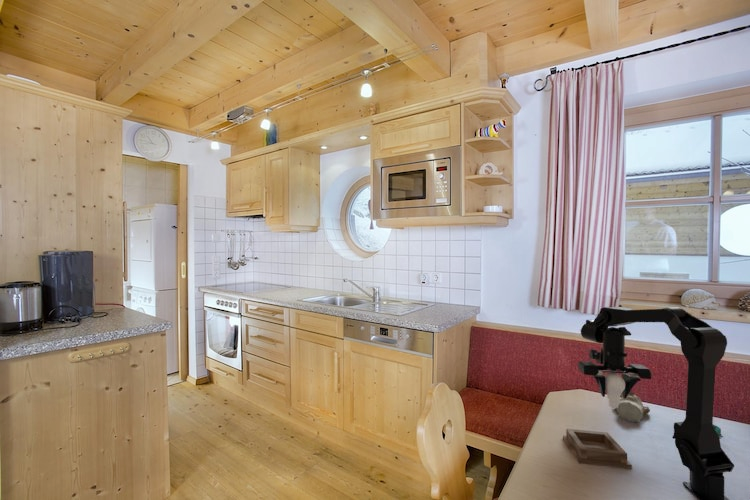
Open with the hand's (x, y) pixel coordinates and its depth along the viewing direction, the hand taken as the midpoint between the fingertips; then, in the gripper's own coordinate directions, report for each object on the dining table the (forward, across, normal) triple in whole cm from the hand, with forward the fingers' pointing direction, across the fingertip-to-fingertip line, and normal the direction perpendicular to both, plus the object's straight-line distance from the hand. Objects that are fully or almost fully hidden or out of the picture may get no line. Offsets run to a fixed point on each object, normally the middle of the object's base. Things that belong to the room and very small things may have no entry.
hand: (613, 397), depth 110 cm
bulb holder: (+13, +9, +10) cm, 19 cm away
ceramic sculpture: (+13, -13, -18) cm, 26 cm away
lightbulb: (+4, 0, 0) cm, 4 cm away
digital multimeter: (+14, -28, -8) cm, 32 cm away
